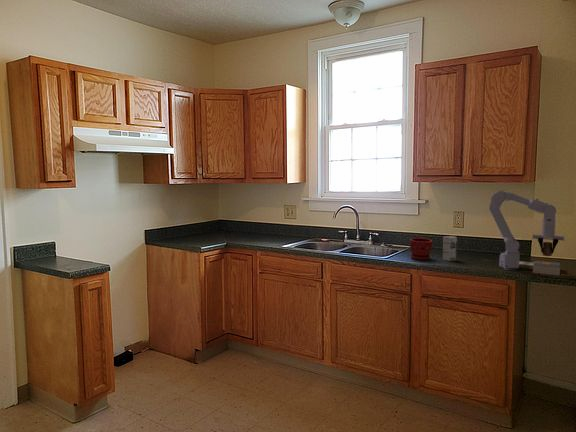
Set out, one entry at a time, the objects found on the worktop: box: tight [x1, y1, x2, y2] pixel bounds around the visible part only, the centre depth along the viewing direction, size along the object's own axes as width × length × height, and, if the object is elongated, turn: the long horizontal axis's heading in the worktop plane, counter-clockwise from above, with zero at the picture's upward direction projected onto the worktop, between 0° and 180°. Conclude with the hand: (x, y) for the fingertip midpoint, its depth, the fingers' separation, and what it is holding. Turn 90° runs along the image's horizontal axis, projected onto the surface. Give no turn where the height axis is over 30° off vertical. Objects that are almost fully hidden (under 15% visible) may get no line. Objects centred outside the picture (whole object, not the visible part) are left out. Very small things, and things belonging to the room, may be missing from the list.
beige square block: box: [519, 260, 534, 266], centre depth 253 cm, size 9×9×1 cm
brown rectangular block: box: [542, 241, 553, 257], centre depth 234 cm, size 3×3×7 cm
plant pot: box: [409, 237, 433, 261], centre depth 272 cm, size 13×13×12 cm
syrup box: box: [442, 235, 458, 262], centre depth 267 cm, size 6×6×14 cm
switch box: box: [532, 260, 561, 276], centre depth 235 cm, size 12×12×4 cm
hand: (547, 252), depth 234 cm, fingers closed on brown rectangular block, 4 cm apart
